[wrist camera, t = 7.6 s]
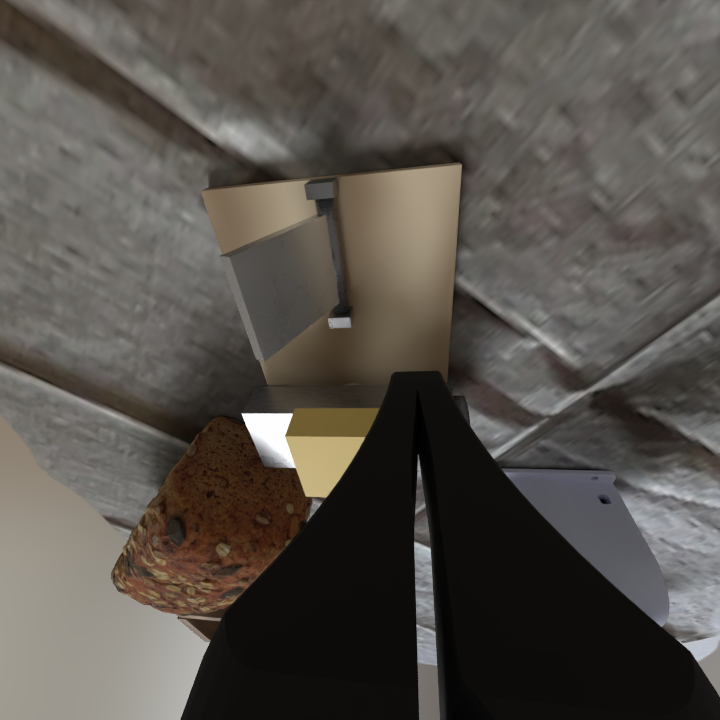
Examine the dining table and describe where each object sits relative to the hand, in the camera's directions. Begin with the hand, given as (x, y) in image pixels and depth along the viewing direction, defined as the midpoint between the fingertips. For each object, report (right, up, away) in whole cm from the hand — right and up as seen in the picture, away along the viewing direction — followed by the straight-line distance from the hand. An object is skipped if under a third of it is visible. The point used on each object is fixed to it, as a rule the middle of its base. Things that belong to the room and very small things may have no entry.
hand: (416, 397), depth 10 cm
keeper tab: (-5, +5, +5) cm, 8 cm away
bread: (-14, -11, +23) cm, 29 cm away
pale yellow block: (-2, -2, +13) cm, 13 cm away
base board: (-2, +3, +11) cm, 11 cm away
